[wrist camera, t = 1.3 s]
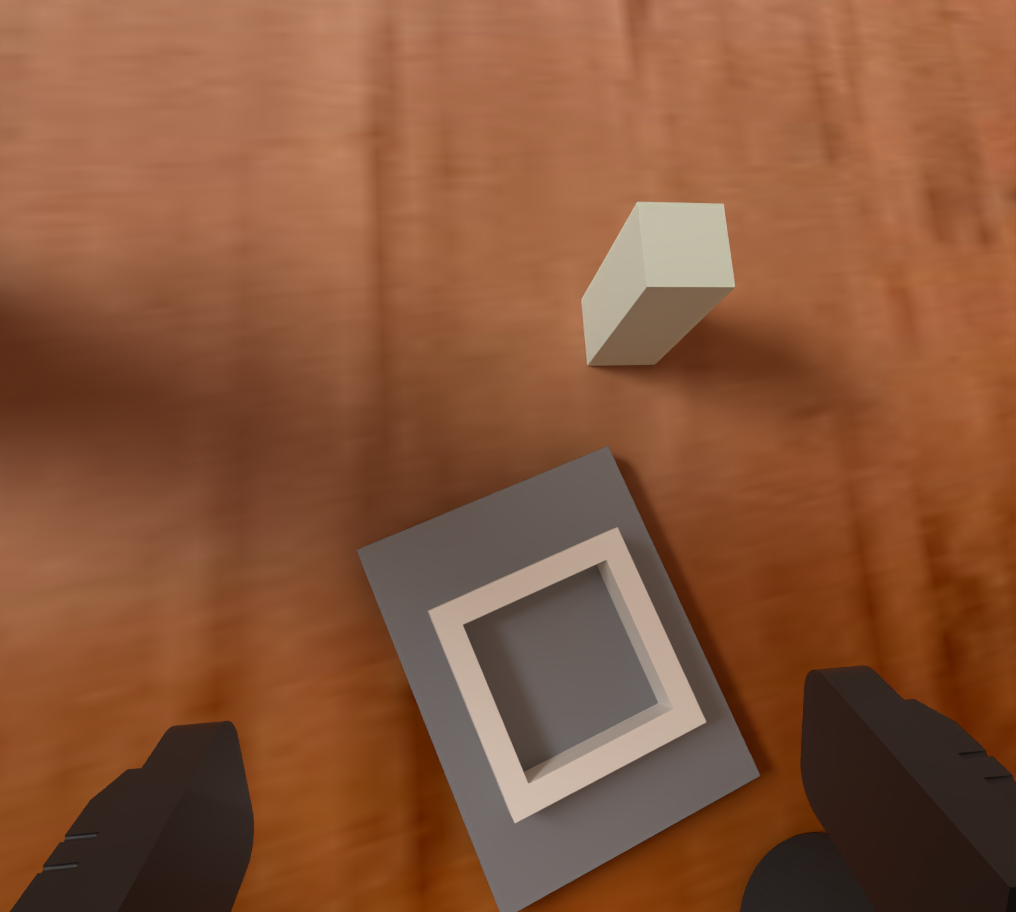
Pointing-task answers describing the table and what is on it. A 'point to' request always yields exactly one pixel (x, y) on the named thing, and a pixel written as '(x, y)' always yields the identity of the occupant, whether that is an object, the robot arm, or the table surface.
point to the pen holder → (804, 879)
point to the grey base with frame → (556, 675)
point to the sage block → (656, 282)
